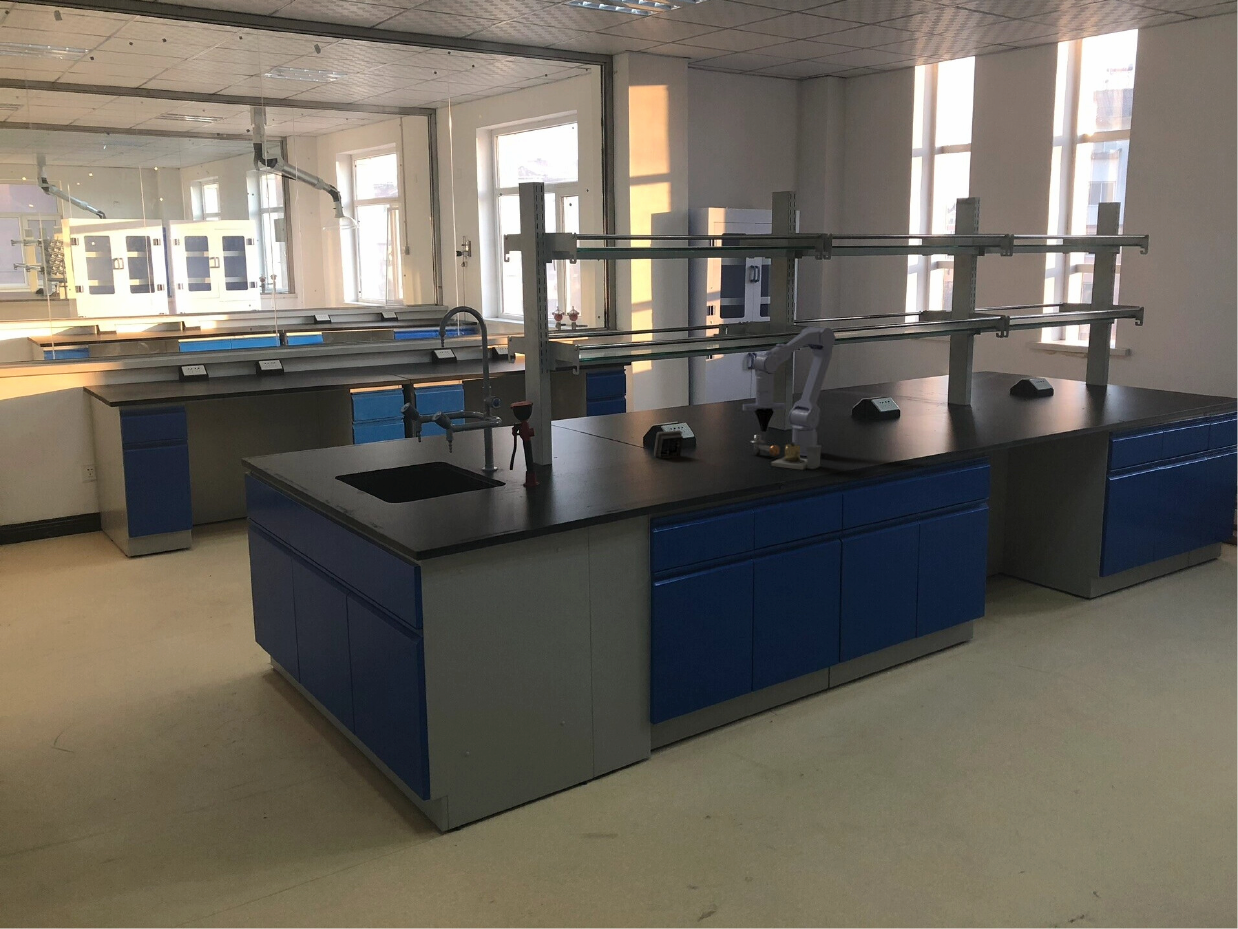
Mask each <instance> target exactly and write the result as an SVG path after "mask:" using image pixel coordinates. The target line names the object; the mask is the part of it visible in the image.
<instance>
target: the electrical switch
mask: <svg viewBox="0 0 1238 929" xmlns="http://www.w3.org/2000/svg"><path fill="white" fill-rule="evenodd" d="M682 434H683V432H682V431H681V430H680V429H678V430H669V431H657V433H656V436H655V441H654V442H655V444H654V450H653V456H654V458H659V459H670V458H672V459H673V458H680V457H681V453H682V446H683V441H684V436H683V435H682Z"/></svg>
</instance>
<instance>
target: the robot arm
mask: <svg viewBox="0 0 1238 929" xmlns="http://www.w3.org/2000/svg"><path fill="white" fill-rule="evenodd" d="M835 335H836V334H835V333H834V330H833V329H832V328H831V327H817V326H806V327H805V328H803V329H802V330H801V332H800V333H798V335H796V336H794V338H792V339H791V340H790V341H788V342H786V344H785V343H777V344H775V347H773V348H771V349H770V350H767V351H765V353H764V354H758V355H757V356H756V357H755V358H754V360H753V363H752V368H753V370H754V372H755V373H754V374H755V377H756V380H755V402H754V403H743V404H742V411H744V412H747V411H754V413H755V415H756V417H757V420H758V425H759V428H760V432H762V433H763V432H764V433H765V432H766V433H767V431H768V426H769V423H770V420H771V419H772V417H773V415H774V410H786V408H787V407H786V406H787V405H786V403H785V402H774V382H775V381H774V376H775V375H774V374H775V372H776V371H777V370H778V367H780V365H781V364H783V363H784V362H786V361H788V360H789V359H791V356H792V353H793V352H796V351H798V350H799V349H801V348H803V347H805V346H806V347H808V348H809V350H810V351H811V352H812V353H813V356H814V358H813V360H812V363H811V366H810V370H809V373H808V376H807V379H806V382H805V385H804V389H803V391H802V395H801V398H800V399H799V400H797V401H796V402H795V403H794V404H793V407H792V409H791V410H790V411H789V413H788V416H787V420H788V423H789V424H790V425H791V428H792V438H791V439H792V441H791V442H794V443H795V444H797V445H800V456H803V457H807V447H808V446H810V445H818V431H816V428H817V427H818V425H819V422H820V413H821V409H820V407H819V406H818V404H817V403H818V399H819V397H820V393H821V390H822V387H823V383H824V380H825V379H826V375H827V371H828V369H829V365H830V362H831V360H832V356H833V355H832V354H833V348H834V345H835V341H836V336H835ZM814 350H815V351H814Z"/></svg>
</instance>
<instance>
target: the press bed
mask: <svg viewBox="0 0 1238 929" xmlns="http://www.w3.org/2000/svg"><path fill="white" fill-rule="evenodd" d="M821 452H822V445H819V444H817V445H810V446H808V447H807V456H806V458H801V457H800V461H798V462H788V461H785V456H783V457H780V458H778V459H776V460H774V461H771V462H770V464H771V467H779V468H787V469H794V470H802V471H803V470H805V469H811V470H815V469H817V468H819V467H820V466H821Z"/></svg>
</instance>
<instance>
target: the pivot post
mask: <svg viewBox="0 0 1238 929" xmlns="http://www.w3.org/2000/svg"><path fill="white" fill-rule="evenodd" d="M749 443H750V444H751V445H752V444H753V456H755V457H761V455H762V454H761V453H762V449H760V448H758V445H760V444H763V445H765V443H766V441H765V440H763V439H762V434H753V439H750V442H749Z"/></svg>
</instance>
